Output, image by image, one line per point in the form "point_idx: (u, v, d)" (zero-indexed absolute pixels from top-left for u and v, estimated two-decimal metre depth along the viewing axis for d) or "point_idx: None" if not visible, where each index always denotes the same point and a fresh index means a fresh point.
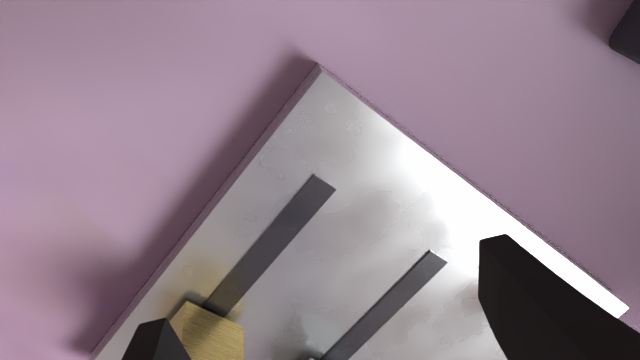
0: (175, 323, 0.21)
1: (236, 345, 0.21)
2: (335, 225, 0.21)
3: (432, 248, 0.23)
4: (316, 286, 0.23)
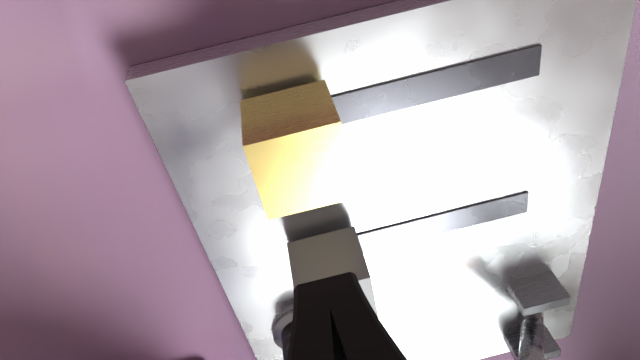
0: (306, 93, 0.16)
1: None
2: (500, 109, 0.19)
3: (530, 190, 0.22)
4: (426, 158, 0.20)
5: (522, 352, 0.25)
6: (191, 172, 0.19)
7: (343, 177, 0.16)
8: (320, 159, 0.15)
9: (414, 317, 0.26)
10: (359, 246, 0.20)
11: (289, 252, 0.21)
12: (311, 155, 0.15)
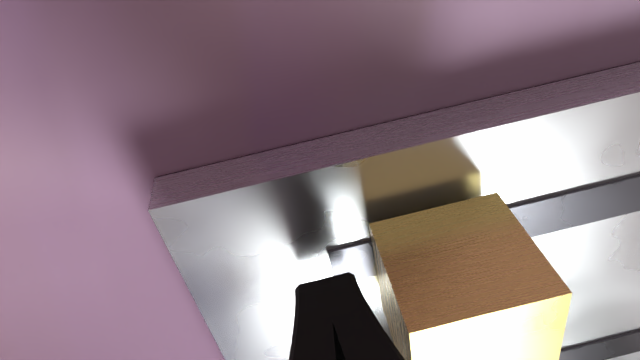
0: (478, 220, 0.11)
1: None
2: None
3: None
4: None
5: None
6: (239, 319, 0.13)
7: None
8: (520, 342, 0.09)
9: None
10: None
11: None
12: (510, 337, 0.09)
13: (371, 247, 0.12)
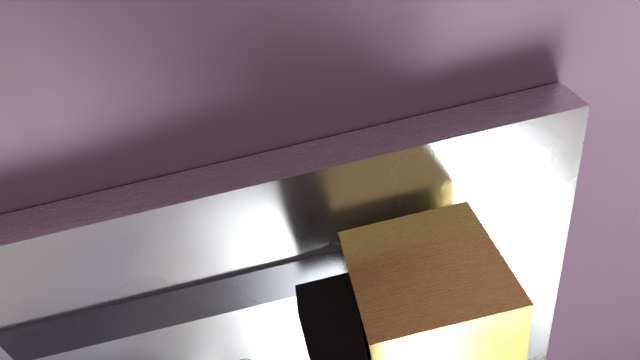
0: (446, 229, 0.10)
1: None
2: None
3: None
4: (288, 357, 0.14)
5: None
6: None
7: None
8: (484, 354, 0.09)
9: None
10: None
11: None
12: (474, 348, 0.09)
13: (36, 329, 0.12)
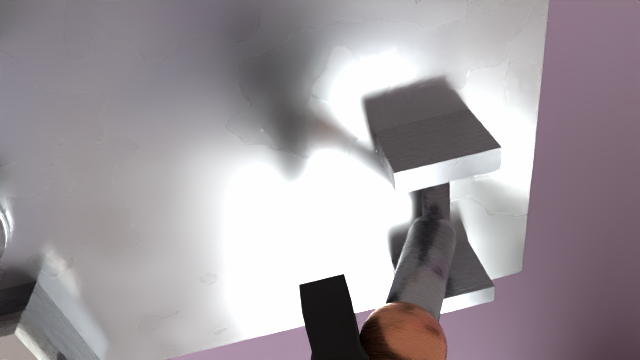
0: None
1: None
2: None
3: None
4: None
5: (397, 278, 0.11)
6: None
7: None
8: None
9: (184, 209, 0.12)
10: None
11: None
12: None
13: None
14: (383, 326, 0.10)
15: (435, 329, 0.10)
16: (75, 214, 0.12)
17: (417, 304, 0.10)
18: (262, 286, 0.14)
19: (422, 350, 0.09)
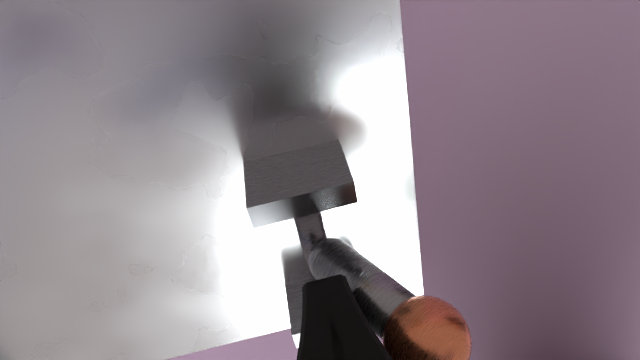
0: None
1: None
2: None
3: None
4: None
5: (363, 301, 0.11)
6: None
7: None
8: None
9: (58, 240, 0.12)
10: None
11: None
12: None
13: None
14: (421, 329, 0.09)
15: (441, 299, 0.10)
16: None
17: (408, 298, 0.10)
18: (154, 312, 0.14)
19: (457, 317, 0.10)
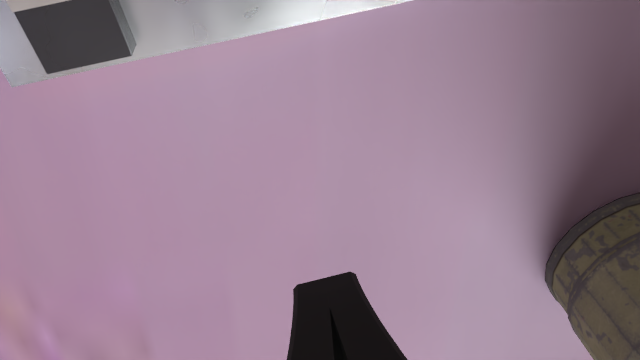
0: None
1: None
2: None
3: None
4: None
5: None
6: None
7: None
8: None
9: None
10: None
11: None
12: None
13: None
14: None
15: None
16: None
17: None
18: None
19: None
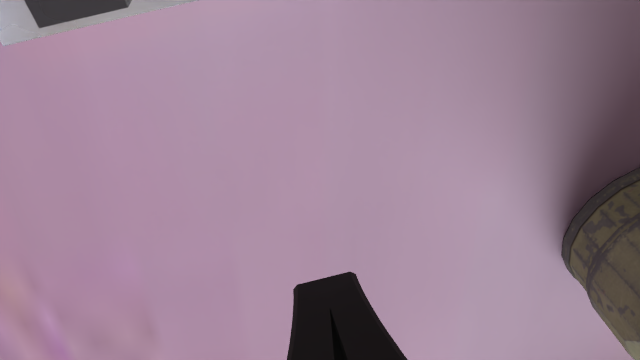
0: None
1: None
2: None
3: None
4: None
5: None
6: None
7: None
8: None
9: None
10: None
11: None
12: None
13: None
14: None
15: None
16: None
17: None
18: None
19: None
